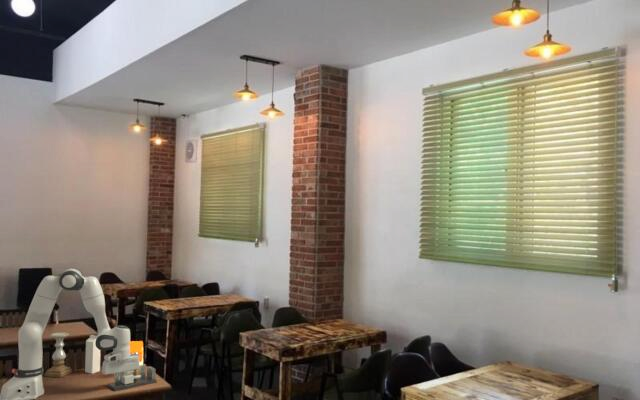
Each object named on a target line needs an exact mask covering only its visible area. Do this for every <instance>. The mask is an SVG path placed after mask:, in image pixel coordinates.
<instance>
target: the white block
mask: <svg viewBox="0 0 640 400" xmlns="http://www.w3.org/2000/svg"><path fill="white" fill-rule="evenodd" d="M137 378H141V375H137V376H134V375H132V374H125V376H124V379H123V380H121V382H122V383H123V384H129V383H134V379H137Z"/></svg>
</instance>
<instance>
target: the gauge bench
mask: <svg viewBox="0 0 640 400" xmlns="http://www.w3.org/2000/svg"><path fill="white" fill-rule="evenodd" d="M136 370H139V375H141V378H138V379H134V383H129V384H123V383H122V382H121V380H118V377H117V375H116V373H114V374H113V375H114V377H113V380H114V381H113V382H110V383H107V385H108V386H107V387H109V388H110V389H111V390H113V391H114V392H117V391H122V390H127V389H131V388H136V387H137V388H138V387H141V386H147V385H151V384H157V382H158V380H157V379H156V368H155V367H153V366H150V365H148V366H147V364H145V363H143V365H139V369H136ZM136 370H130V371H126V374H132V375H134V376H136ZM122 374H123V373H122V372H120V374H119V376H122Z"/></svg>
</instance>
